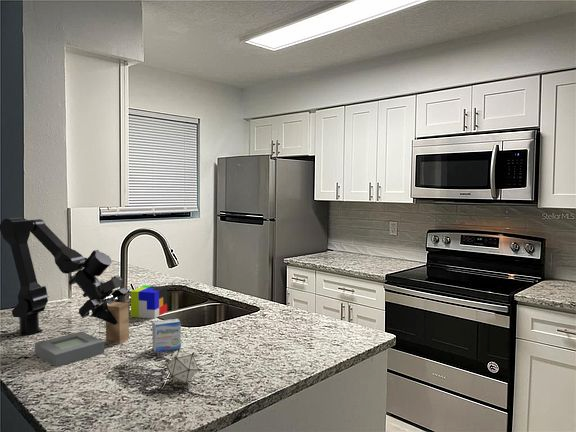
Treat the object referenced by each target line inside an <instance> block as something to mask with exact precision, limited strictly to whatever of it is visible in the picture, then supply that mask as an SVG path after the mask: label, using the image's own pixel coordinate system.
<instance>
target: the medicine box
mask: <svg viewBox="0 0 576 432" xmlns="http://www.w3.org/2000/svg"><path fill="white" fill-rule="evenodd" d="M151 323H152V326H151V329H152V332H151V333H152V336H151V337H152V339H151V341H152V350H153V351H154V353H155V354H156V353H162V352H170V351H175V350H178V349H179V350H180V349H181V347H182V344H181V343H182V342H181V341H182V337H181V335H182V334H181V333H182V329H181V328H182V327H181V326H182V324H181V321H180V319H179V318H172V319H164V320H157V321H156V320H155V321H152V322H151Z"/></svg>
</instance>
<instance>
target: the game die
mask: <svg viewBox="0 0 576 432" xmlns="http://www.w3.org/2000/svg"><path fill="white" fill-rule="evenodd" d="M194 355H195V351H194V352H193V351H192V353H187V352H182V351H180V349H177V353H175V355H174V356H173V357H172V358H171V359H170V360H169V361H168V362H167V363H162V365H163V366H165V367H166V368H167V370H168V372H169V375H170V376H169V378H170V379H171V380H170V383H173V382H174V381H175V382H178V383H183V384H185V386H186V387H188V386H189V385H188V383H189V382H190V381H191V379H192V378H193V377H195V375H196V374H197V373H198V371H199V372H202V371H203V370H202V369H201V368H199V367H198V364H197V362H196V360H195V357H194Z"/></svg>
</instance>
